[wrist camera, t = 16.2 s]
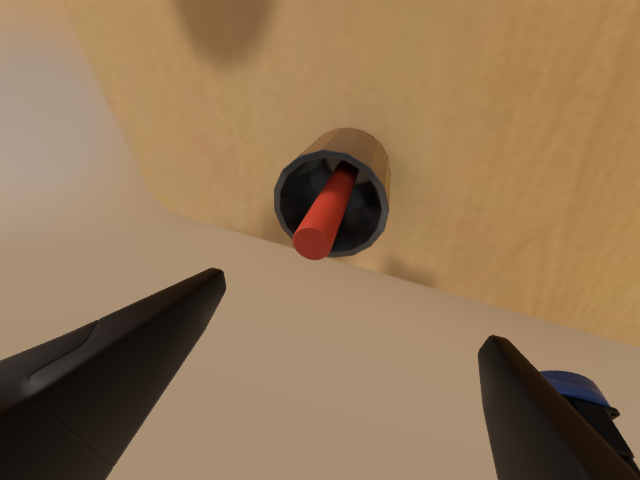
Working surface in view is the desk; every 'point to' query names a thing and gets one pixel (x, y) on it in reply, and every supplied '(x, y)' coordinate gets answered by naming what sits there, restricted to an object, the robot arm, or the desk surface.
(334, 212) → the straw
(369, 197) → the tin
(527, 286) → the desk surface
